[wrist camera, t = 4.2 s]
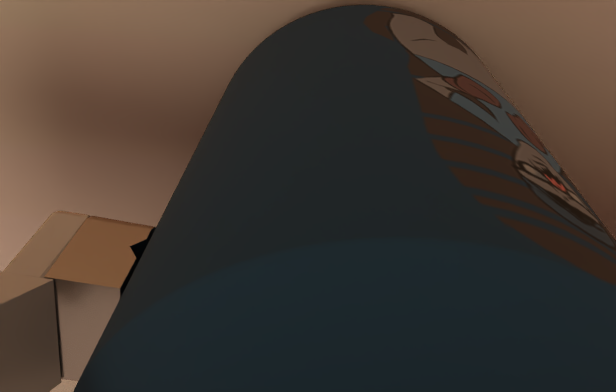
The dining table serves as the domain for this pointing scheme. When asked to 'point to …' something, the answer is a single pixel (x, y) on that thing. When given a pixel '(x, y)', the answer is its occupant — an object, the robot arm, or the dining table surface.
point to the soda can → (367, 233)
